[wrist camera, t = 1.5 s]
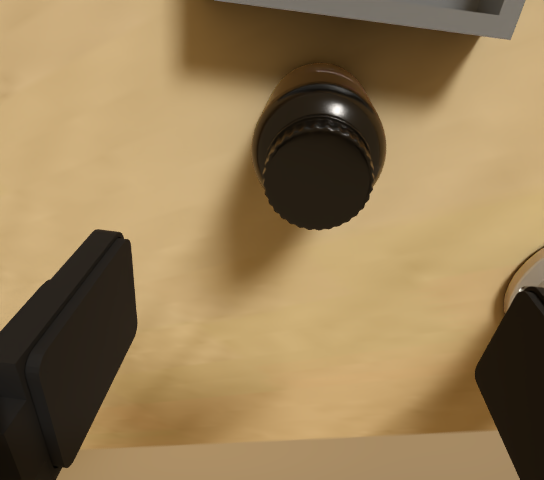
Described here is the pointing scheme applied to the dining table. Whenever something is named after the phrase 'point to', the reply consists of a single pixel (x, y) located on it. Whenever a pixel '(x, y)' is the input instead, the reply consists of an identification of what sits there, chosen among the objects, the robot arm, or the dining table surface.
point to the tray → (416, 13)
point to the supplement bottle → (318, 147)
